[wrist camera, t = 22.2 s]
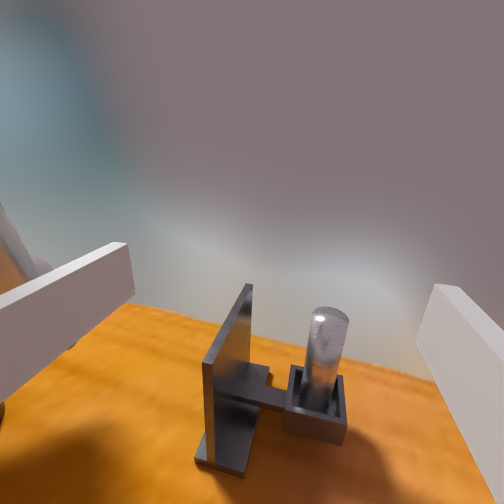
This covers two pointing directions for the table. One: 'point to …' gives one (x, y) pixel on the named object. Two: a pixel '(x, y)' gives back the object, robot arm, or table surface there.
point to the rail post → (322, 358)
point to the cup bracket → (253, 398)
